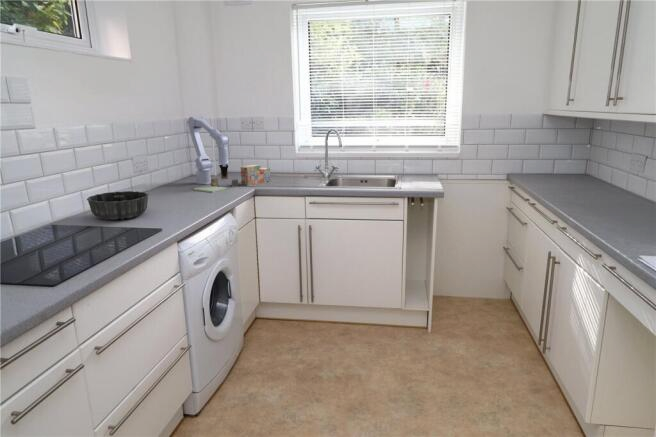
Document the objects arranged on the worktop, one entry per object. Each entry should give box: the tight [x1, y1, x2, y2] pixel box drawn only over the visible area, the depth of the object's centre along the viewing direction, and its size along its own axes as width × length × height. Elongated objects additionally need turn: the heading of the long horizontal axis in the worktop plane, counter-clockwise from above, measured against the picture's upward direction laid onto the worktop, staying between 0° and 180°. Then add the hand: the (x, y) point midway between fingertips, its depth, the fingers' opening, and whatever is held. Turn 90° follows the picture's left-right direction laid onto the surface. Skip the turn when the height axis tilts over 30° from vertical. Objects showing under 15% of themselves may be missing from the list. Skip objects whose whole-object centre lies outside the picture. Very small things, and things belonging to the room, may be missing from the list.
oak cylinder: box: [210, 178, 219, 187], centre depth 282 cm, size 4×4×5 cm
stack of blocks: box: [240, 164, 271, 186], centre depth 295 cm, size 21×6×12 cm, turn 144°
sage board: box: [192, 185, 227, 193], centre depth 272 cm, size 16×12×1 cm
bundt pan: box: [86, 190, 150, 221], centre depth 207 cm, size 26×26×10 cm
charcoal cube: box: [230, 178, 239, 187], centre depth 285 cm, size 4×4×4 cm
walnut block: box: [220, 170, 229, 180], centre depth 282 cm, size 4×4×6 cm
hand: (224, 176), depth 283 cm, fingers closed on walnut block, 4 cm apart
